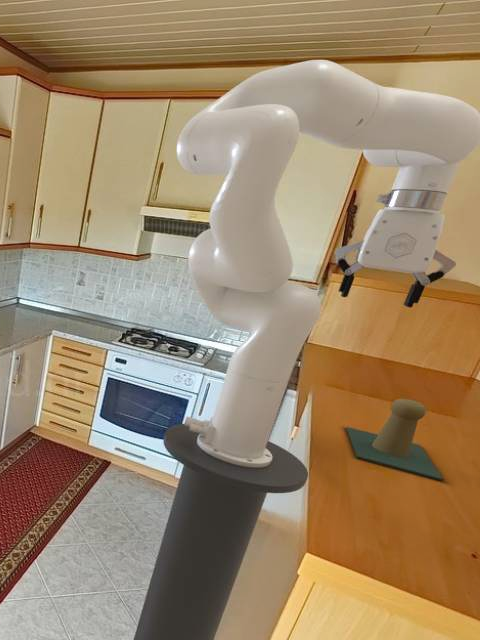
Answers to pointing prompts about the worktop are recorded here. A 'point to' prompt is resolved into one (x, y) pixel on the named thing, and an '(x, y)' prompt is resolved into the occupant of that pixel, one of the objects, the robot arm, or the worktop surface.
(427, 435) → the worktop surface
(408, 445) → the cork
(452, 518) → the worktop surface
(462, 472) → the worktop surface
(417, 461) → the side mat
